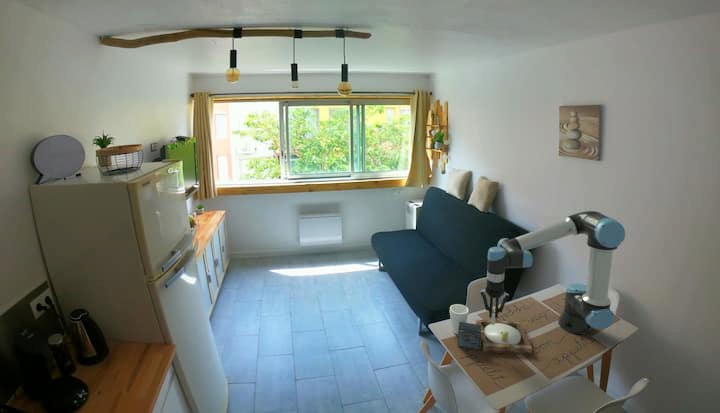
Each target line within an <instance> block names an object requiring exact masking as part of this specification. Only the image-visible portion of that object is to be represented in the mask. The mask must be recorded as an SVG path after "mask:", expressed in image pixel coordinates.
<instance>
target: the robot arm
mask: <svg viewBox="0 0 720 413" xmlns="http://www.w3.org/2000/svg"><path fill="white" fill-rule="evenodd" d="M581 234H582V235H586V236H587V241H586V244H587V246H588V248H589V249H590V250H589V260H588V261H589V262H588V268H587V269H588V270H587V272H588V273H587V281H586V284H582V283H570V284H569V285H567V286H566V290H565V298H564V306H563V310H562V312H561V314H560V315H559V317H558V320H557V321H558V322H557V323H558V325H559V327H560V328H562V330H564V331H567V332H568V333H573V334H575V333H578V334H577V335H583V334H582V333H587V332H589V331H590V332H591V331H592V329H595V330H602V329H606V328H608V327H610V326H611V325H612V324H613V323H614V322H615V319H616V318H615V313H614V312H613V310H611V303H612V301H611V299H610V298H609V297H608V294H609V287H610V286H609V284H610V277H611V269H612V260H613V252H614V251H615V250H617V249H618V246H620V245H622V244H621V243H623V242H624V240H625V238H626V230H625V227H624V226H623V225H622V224H621V223H620V222H618V221H617V220H616V219H614V218H611V217H609V216H607V215H605V214H603V213H601V212H598V211H596V210H587V211H581V212H577V213H574V214H571V215H568V216H565V217H564V219H563V220H561V221H557V222H555V223H553V224H550V225H548V226H547V225H546V226H545V227H542V228H539V229H536V230H533V231H530V232H528V233H525V234H523V235H520V236H517V237H514V238H510V239H509V238H505V237H504V238H501V239H499V241H497V242H498V243H497V246H493V247H490V248H489V249H488V252H487V270H486V272H487V273H486V287H485V289H481V290H480V295H481V297H482V300H483V304H484V309H485V311H488V312H489V318H491V320H492V322H491V325H495V320H497V319H498V318H499V313H501V314H502V313H503V309H504V308H505V304H506V302H507V300H508V299H509V297H510V294H509V293H507V292H506V291H505V289H504V286H505V285H504V284H505V281H504V280H505V269H521V268H522V269H524V268H529V267H530V268H531V266H532V265H533V262H534V259H533V255H532V253H531V252H530V251H529V250H531V249H534V248H538V247H540V246H543V245H546V244H549V243H551V242H554V241H558V240H559V239H563V238H565V237H569V236H571V235H572V236H573V237H574V236H577V235H581ZM486 294H487V295H488V297H489V302H488V299H487V298H488V297H487V295H486ZM501 297H503V298H502V301H501V304H500V306H499V300H500V298H501ZM494 299H495V309H493V307H494V306H493V304H494ZM590 332H589V333H590ZM580 333H581V334H580ZM587 334H588V333H587Z"/></svg>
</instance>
